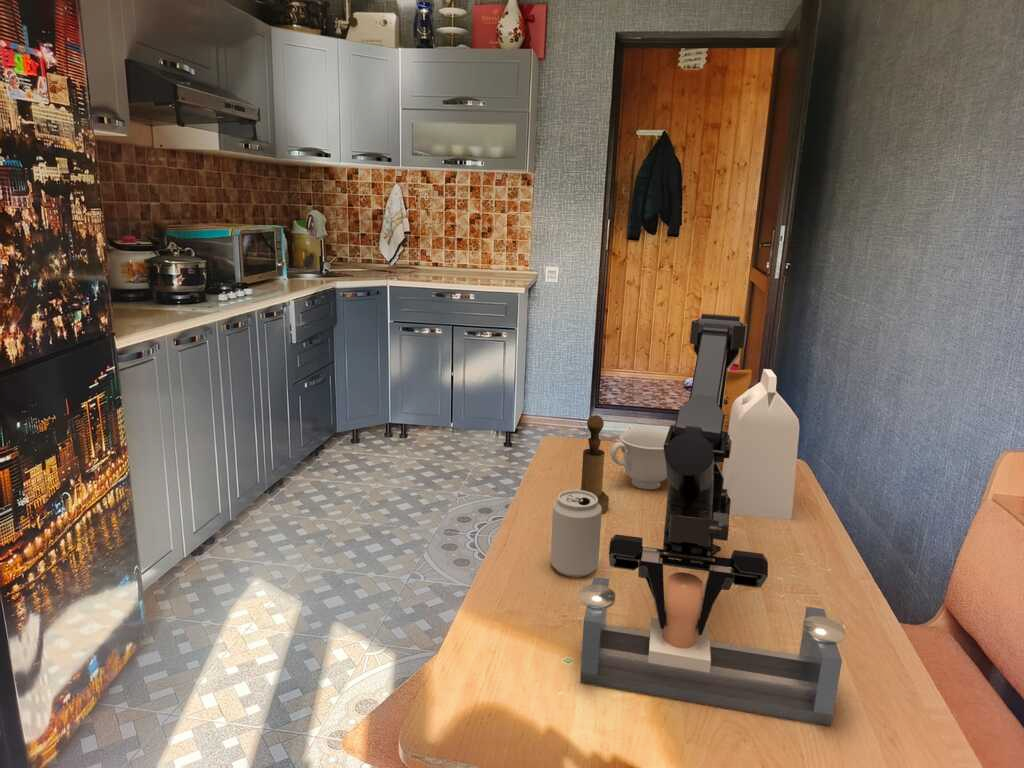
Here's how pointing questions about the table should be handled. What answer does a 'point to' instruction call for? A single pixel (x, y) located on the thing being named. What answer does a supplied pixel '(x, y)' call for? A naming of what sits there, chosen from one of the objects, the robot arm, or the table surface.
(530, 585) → the table surface
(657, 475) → the teacup
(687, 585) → the carriage
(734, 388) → the coffee package
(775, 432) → the milk
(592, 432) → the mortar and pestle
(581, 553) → the can
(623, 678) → the rail
